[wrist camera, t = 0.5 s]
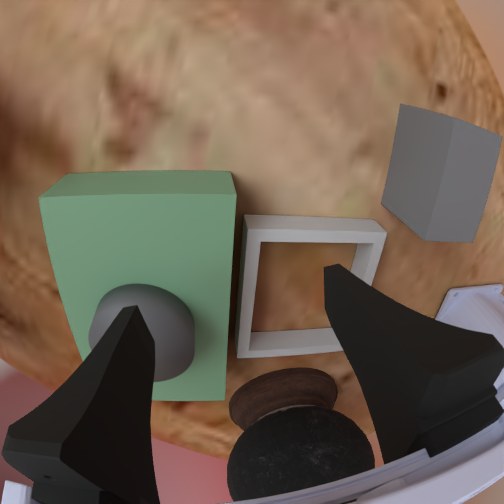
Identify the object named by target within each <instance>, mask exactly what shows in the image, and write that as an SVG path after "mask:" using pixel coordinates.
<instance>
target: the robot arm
mask: <svg viewBox="0 0 504 504" xmlns="http://www.w3.org/2000/svg"><path fill="white" fill-rule="evenodd" d="M502 289H503V285H502V284H493V285H483V286H474V287H463V288H453V289H450V290H449V291H448V292H447V295H446V297H445V299H444V301H443V303H442V305H441V308H440V310H439V312H438V314H437V316H436V318H435V319H433V318H430V317H427V316H425V315H423V314H420V313H418V312H416V311H414V310H412V309H410V308H408V307H405V306H404V305H402V304H400V303H398V302H396V301H394V300H393V299H391V298H389V297H388V296H386V295H384V294H383V293H381V292H379V291H378V290H376V289H375V288H373V287H372V286H370V285H369V284H367V283H366V282H364V281H363V280H361V279H360V278H358V277H357V276H356V275H354V274H353V273H351V272H350V271H349V270H347V269H346V268H344V267H343V266H341V265H340V264H336V265H331V266H327V267H324V295H325V310H326V313H327V316H328V318H329V321H330V324H331V326H332V329H333V331H334V333H335V335H336V337H337V339H338V341H339V343H340V345H341V347H342V349H343V350H344V352H345V354H346V356H347V358H348V360H349V362H350V364H351V366H352V368H353V370H354V372H355V374H356V376H357V378H358V381H359V383H360V386H361V389H362V391H363V394H364V397H365V400H366V402H367V405H368V408H369V412H370V415H371V418H372V421H373V424H374V427H375V431H376V434H377V438H378V441H379V445H380V449H381V453H382V457H383V461H384V465H382V466H380V467H377V468H374V469H372V470H369V471H366V472H363V473H360V474H357V475H354V476H351V477H347V478H344V479H341V480H338V481H334V482H331V483H327V484H323V485H320V486H316V487H312V488H308V489H303V490H299V491H295V492H290V493H285V494H280V495H275V496H269V497H264V498H258V499H251V500H244V501H236V502H229V503H219V504H340V503H343V502H347V501H350V500H353V499H356V498H357V501H356V502H352V503H348V504H462V503H463V502H465V501H467V500H468V499H470V498H472V497H473V496H475V495H476V494H478V493H480V492H481V491H483V490H484V489H486V488H487V487H489V486H490V485H491V484H493V483H495V482H496V481H497V480H499V479H500V478H501V477H503V476H504V296H503V295H502V294H501V291H502ZM154 373H155V341H154V339H153V337H152V335H151V333H150V331H149V329H148V327H147V324H146V322H145V320H144V318H143V316H142V314H141V312H140V310H139V307H138V305H134V306H128V307H123V308H122V310H121V311H120V312H119V314H118V315H117V316H116V318H115V319H114V321H113V322H112V323H111V325H110V326H109V328H108V329H107V330H106V332H105V333H104V335H103V336H102V337H101V339H100V340H99V342H98V343H97V344H96V346H95V347H94V348H93V350H92V351H91V352H90V353H89V355H88V356H87V357H86V359H85V360H84V361H83V363H82V364H81V365H80V366H79V367H78V368H77V370H76V371H75V372H74V373H73V374H72V375H71V376H70V377H69V378H68V380H67V381H66V382H65V383H64V384H63V385H61V386H60V387H59V388H58V389H57V390H56V391H55V392H54V393H53V394H52V395H51V396H50V397H49V398H48V399H46V400H45V401H44V402H43V403H42V404H40V405H39V406H38V407H36V408H35V409H34V410H33V411H31V412H30V413H28V414H27V415H25V416H24V417H23V418H21V419H20V420H18V421H16V422H15V423H13V424H12V425H10V426H9V428H8V432H7V435H6V438H5V442H4V446H3V450H2V456H3V458H4V459H5V461H6V462H7V463H8V464H10V465H11V466H12V467H13V468H15V469H16V470H18V471H19V472H21V473H22V474H23V475H25V476H26V477H28V478H29V479H31V480H32V481H34V484H33V488H32V487H29V486H27V485H24V484H20V483H16V482H12V481H8V480H6V481H5V486H4V491H3V497H2V503H1V504H160V501H159V496H158V491H157V485H156V480H155V472H154V465H153V456H152V445H151V426H150V416H151V403H152V393H153V383H154Z"/></svg>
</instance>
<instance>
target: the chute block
mask: <svg viewBox="0 0 504 504" xmlns="http://www.w3.org/2000/svg"><path fill="white" fill-rule="evenodd" d="M501 141H502V136H500V135H498V134H496V133H493V132H491V131H489V130H486V129H484V128H481V127H479V126H476V125H473V124H471V123H468V122H465V121H463V120H460V119H457V118H454V117H451V116H447V115H444V114H440V113H437V112H433V111H429V110H425V109H421V108H417V107H413V106H409V105H404V104H400V109H399V115H398V122H397V127H396V133H395V139H394V144H393V150H392V155H391V160H390V165H389V170H388V174H387V179H386V184H385V188H384V193H383V197H382V201H381V204H382V205H383V206H385V207H386V208H387V209H388V210H389V211H391V212H392V213H393V214H394V215H395V216H396V217H398V218H399V219H400V220H401V221H402V222H403V223H405V224H406V225H407V226H408V227H409V228H410V229H411V230H413V231H414V232H415V233H416V234H417V235H418V236H419V237H420V238H422V239H423V240H424V241H442V242H469V243H473V241H474V238H475V235H476V232H477V229H478V226H479V224H480V221H481V217H482V214H483V211H484V208H485V205H486V201H487V198H488V195H489V191H490V188H491V184H492V180H493V176H494V172H495V168H496V164H497V160H498V156H499V151H500V146H501Z"/></svg>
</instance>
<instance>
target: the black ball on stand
mask: <svg viewBox="0 0 504 504" xmlns="http://www.w3.org/2000/svg"><path fill="white" fill-rule="evenodd" d="M337 394H338V391H337V387H336V384H335V382H334V380H333V379H332V377H331V376H330V375H328V374H327V373H325V372H323V371H320V370H317V369H312V368H289V369H282V370H278V371H273V372H270V373H267V374H264V375H261V376H259V377H257V378H254V379H252V380H251V381H249V382H247V383H246V384H244V385H243V386H241V387H240V388H239V389H238V390H237V391H236V392H235V393H234V395H233V396H232V397H231V400H230V402H229V412H230V416H231V419H232V420H233V422H234V423H235V424H236V425H238V426H239V427H240V428H241V429H242V430H244V432H243V433H242V435H241V436H240V437H239V438H238V440H237V442H236V444H235V446H234V447H233V449H232V451H231V453H230V457H229V461H228V465H227V484H228V488H229V492H230V495H231V497H232V499H233V501H234V502H236V501H244V500H251V499H258V498H264V497H269V496H275V495H280V494H285V493H290V492H295V491H299V490H303V489H308V488H312V487H316V486H320V485H323V484H327V483H331V482H334V481H338V480H341V479H344V478H347V477H351V476H354V475H357V474H360V473H363V472H366V471H369V470H372V469H374V468H375V459H374V454H373V450H372V447H371V444H370V442H369V441H368V439H367V437H366V435H365V434H364V433H363V431H362V430H361V429H360V428H359V427H358V426H357V425H356V424H355V422H353V421H352V420H351V419H349V418H348V417H346V416H345V415H343V414H341V413H339V412H337V411H334V410H332V408H333V406H334V403H335V401H336V398H337ZM356 501H357V498H356V499H353V500H350V501H347V502H343V503H340V504H348V503H352V502H356Z"/></svg>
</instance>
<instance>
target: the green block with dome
mask: <svg viewBox="0 0 504 504" xmlns="http://www.w3.org/2000/svg"><path fill="white" fill-rule="evenodd" d="M236 196H237V194H236V191H235V187H234V183H233V180H232V176H231V173H230V171H117V172H93V173H75V174H66V175H65V176H64V177H62V178H61V179H60V180H59V181H57V182H56V183H55V184H54V185H53V186H51V187H50V188H49V189H48V190H47V191H46V192H44V193H43V194H42V195H41V196H40V197H39V205H40V211H41V216H42V222H43V227H44V232H45V237H46V241H47V246H48V250H49V255H50V259H51V263H52V267H53V271H54V275H55V278H56V282H57V286H58V289H59V293H60V296H61V300H62V303H63V306H64V309H65V312H66V316H67V319H68V322H69V325H70V328H71V330H72V333H73V336H74V339H75V342H76V344H77V347H78V350H79V352H80V355H81V358H82V360H83V361H84V360H85V359H86V357H87V356H88V355H89V353H90V352H91V351H92V350H93V348H94V347H95V346H96V344H97V343H98V342H99V340H100V339H101V337H102V336H103V335H104V333H105V332H106V330H107V329H108V328H109V326H110V325H111V323H112V322H113V321H114V319H115V318H116V316H117V315H118V314H119V312H120V311H121V310H122V308H123V307H128V306H134V305H138V307H139V310H140V312H141V314H142V316H143V318H144V320H145V322H146V324H147V327H148V329H149V331H150V333H151V335H152V337H153V339H154V341H155V373H154V383H153V393H152V400H160V401H220V400H225V387H226V365H227V344H228V325H229V307H230V289H231V272H232V256H233V240H234V225H235V211H236ZM386 236H387V232H386V231H385V230H384V229H383V228H382V227H381V226H380V225H379V224H378V223H377V222H376V221H375V220H373V219H354V218H334V217H310V216H281V215H244V219H243V232H242V245H241V258H240V271H239V284H238V297H237V311H236V325H235V339H234V340H235V348H236V355H237V358H259V357H276V356H291V355H303V354H315V353H325V352H335V351H344V350H343V349H342V347H341V345H340V343H339V341H338V339H337V337H336V335H335V333H334V331H333V329H332V328H320V329H305V330H288V331H268V332H251V325H252V316H253V307H254V298H255V289H256V281H257V272H258V263H259V253H260V244H261V242H324V243H358V245H357V249H356V253H355V257H354V260H353V264H352V268H351V271H350V272H351V273H353V274H354V275H356V276H357V277H358V278H360V279H361V280H363V281H364V282H366V283H367V284H369V285H370V286H371V285H372V282H373V279H374V275H375V272H376V269H377V266H378V263H379V259H380V256H381V253H382V249H383V246H384V243H385V239H386Z"/></svg>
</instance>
